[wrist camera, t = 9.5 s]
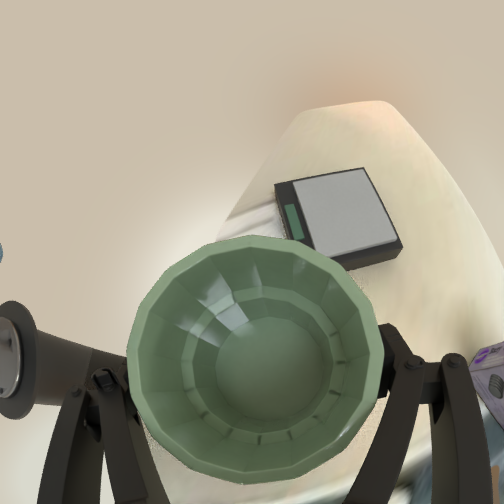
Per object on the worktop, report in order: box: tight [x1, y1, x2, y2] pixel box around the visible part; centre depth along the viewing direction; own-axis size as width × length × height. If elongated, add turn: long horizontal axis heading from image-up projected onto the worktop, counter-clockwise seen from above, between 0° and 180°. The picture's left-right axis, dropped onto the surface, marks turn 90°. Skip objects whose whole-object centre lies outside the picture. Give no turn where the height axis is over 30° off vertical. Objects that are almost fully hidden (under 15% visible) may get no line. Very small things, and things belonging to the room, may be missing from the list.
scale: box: [274, 167, 403, 271], centre depth 34 cm, size 13×13×4 cm
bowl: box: [126, 235, 384, 485], centre depth 14 cm, size 10×10×10 cm
